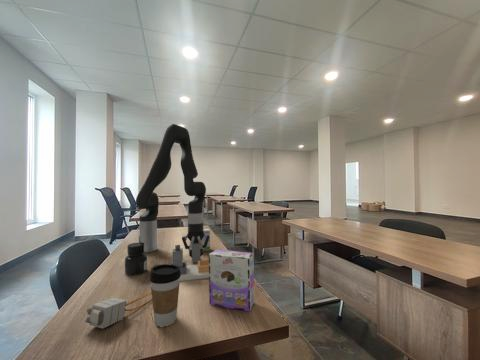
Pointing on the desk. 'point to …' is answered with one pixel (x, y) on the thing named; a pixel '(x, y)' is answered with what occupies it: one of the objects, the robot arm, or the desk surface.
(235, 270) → the candy box
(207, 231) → the ink box
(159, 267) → the coffee cup
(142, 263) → the ink bottle
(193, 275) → the dock
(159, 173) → the robot arm
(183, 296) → the desk surface
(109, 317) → the electrical component
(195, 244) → the plug
